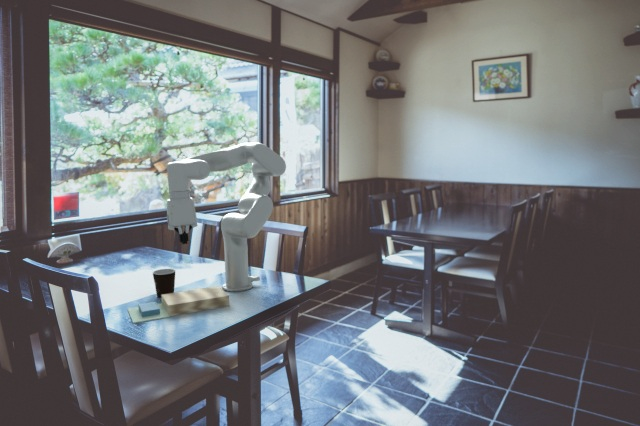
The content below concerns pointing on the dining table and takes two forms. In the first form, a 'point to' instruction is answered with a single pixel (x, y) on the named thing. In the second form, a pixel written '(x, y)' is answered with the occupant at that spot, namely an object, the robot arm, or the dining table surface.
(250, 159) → the robot arm
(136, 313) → the mat
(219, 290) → the beige wood-grain panel
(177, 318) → the dining table surface
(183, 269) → the dining table surface
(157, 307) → the blue rectangular block
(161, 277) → the coffee mug
